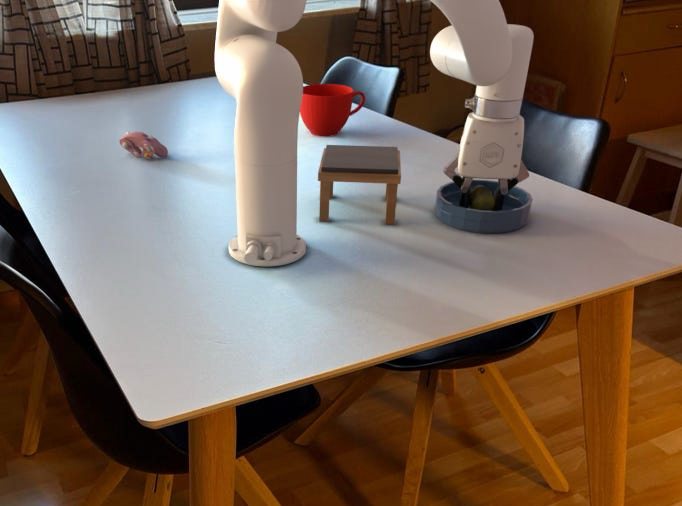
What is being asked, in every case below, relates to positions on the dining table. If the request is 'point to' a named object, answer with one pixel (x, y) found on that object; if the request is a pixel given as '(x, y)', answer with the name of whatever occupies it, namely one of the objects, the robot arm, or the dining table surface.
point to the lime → (481, 199)
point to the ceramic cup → (327, 107)
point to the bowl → (483, 221)
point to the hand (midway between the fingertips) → (479, 211)
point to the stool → (359, 172)
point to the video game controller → (143, 145)
